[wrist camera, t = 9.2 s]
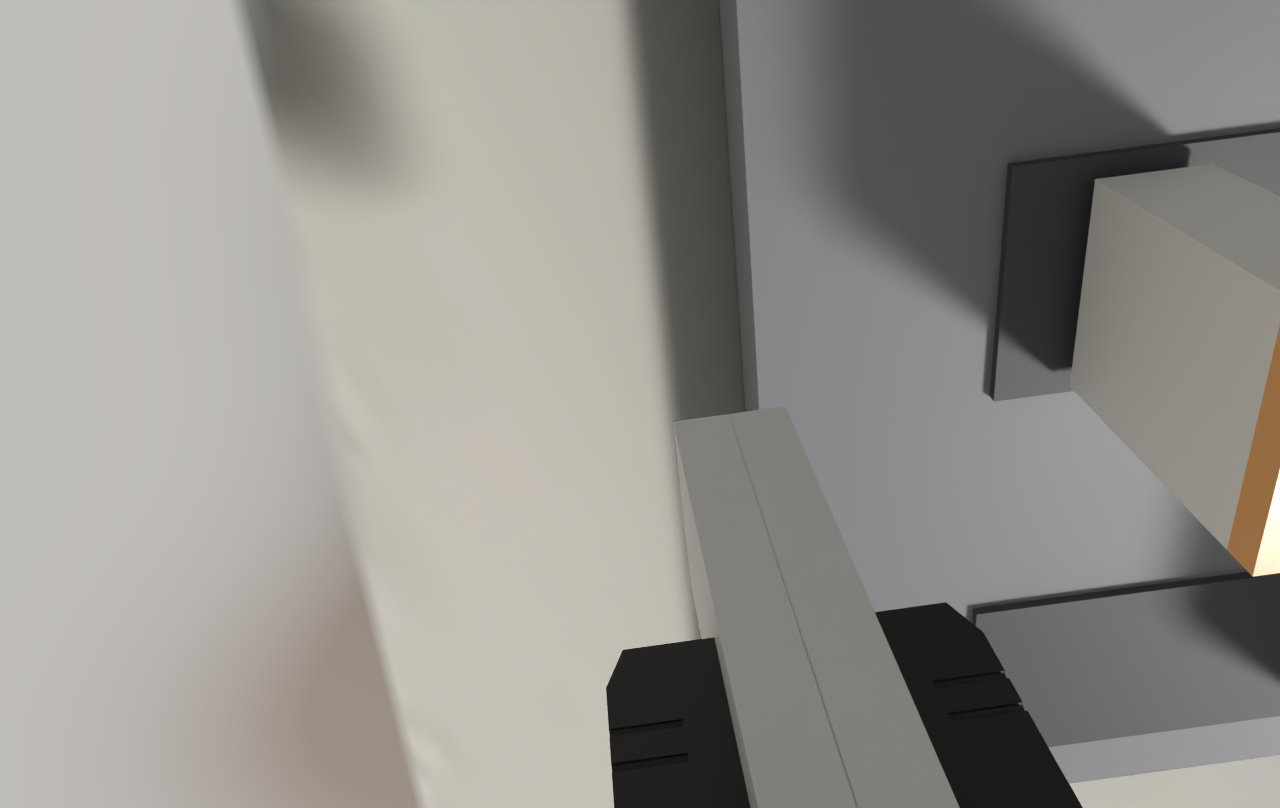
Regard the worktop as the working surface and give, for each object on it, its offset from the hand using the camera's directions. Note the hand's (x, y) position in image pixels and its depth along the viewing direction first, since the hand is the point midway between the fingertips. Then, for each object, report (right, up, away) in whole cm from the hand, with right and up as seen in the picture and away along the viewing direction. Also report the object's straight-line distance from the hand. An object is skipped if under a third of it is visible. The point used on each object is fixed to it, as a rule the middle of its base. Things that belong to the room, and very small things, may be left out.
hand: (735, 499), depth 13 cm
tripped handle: (+8, +4, +4) cm, 9 cm away
